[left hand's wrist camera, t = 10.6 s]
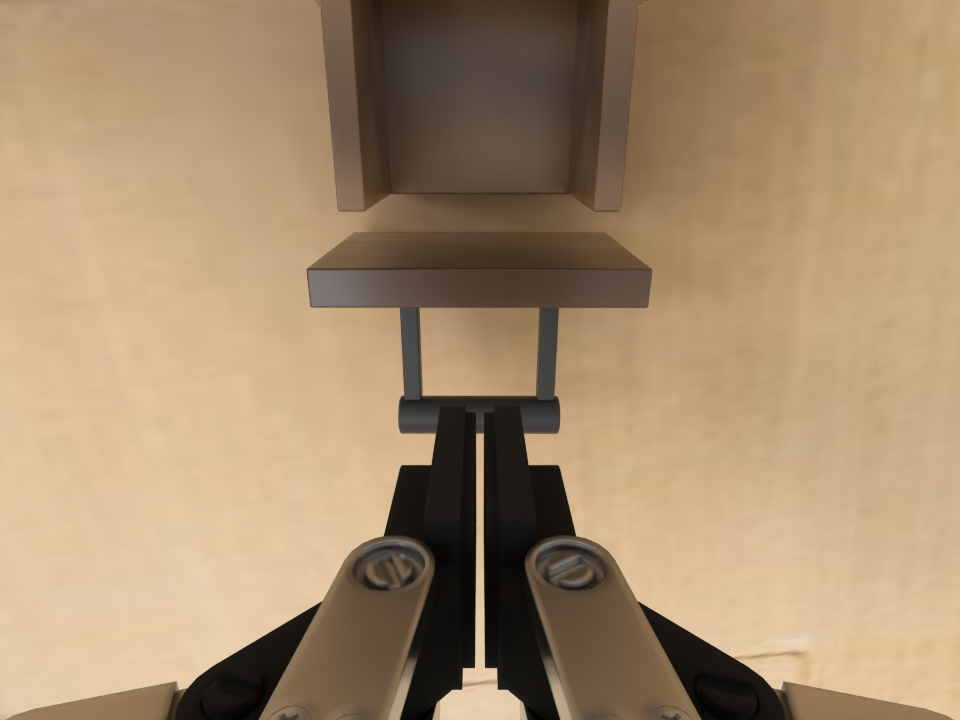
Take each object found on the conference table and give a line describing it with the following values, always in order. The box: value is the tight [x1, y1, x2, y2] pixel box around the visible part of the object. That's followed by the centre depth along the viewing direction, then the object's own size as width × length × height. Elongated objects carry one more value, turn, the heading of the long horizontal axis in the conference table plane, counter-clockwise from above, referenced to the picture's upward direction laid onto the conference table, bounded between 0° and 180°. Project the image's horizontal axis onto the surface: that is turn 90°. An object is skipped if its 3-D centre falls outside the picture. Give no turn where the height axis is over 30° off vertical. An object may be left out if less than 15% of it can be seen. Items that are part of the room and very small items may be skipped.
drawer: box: [307, 0, 652, 434], centre depth 18 cm, size 25×10×7 cm, turn 0°
